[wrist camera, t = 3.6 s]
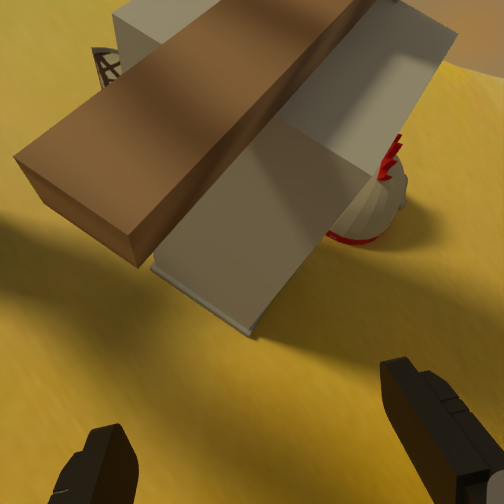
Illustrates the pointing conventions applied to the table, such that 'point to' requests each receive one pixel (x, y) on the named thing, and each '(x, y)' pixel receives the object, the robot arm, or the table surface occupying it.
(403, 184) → the white chicken figure
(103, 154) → the brown wooden bar
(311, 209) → the pedestal
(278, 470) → the table surface
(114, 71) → the food container
